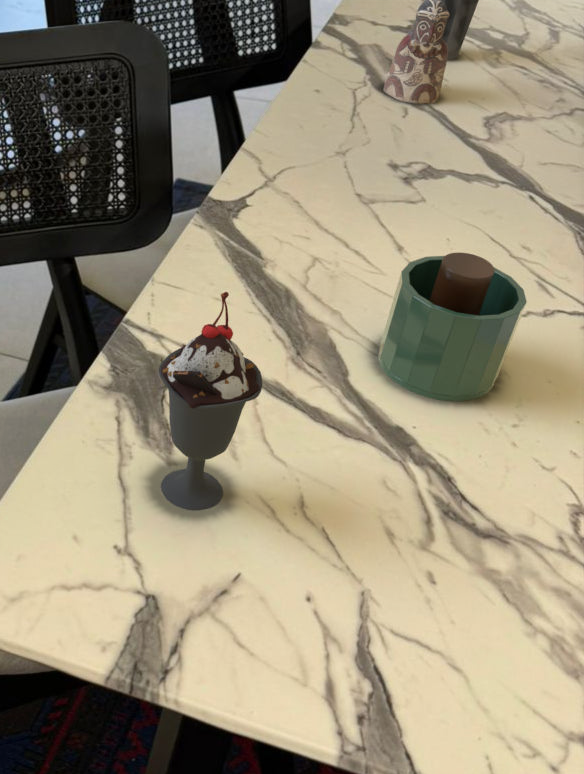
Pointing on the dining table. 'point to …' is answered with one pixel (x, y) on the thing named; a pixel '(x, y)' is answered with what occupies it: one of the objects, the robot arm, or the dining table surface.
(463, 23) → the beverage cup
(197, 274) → the dining table surface
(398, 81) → the figurine
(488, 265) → the pestle
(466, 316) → the crock
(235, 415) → the sundae
